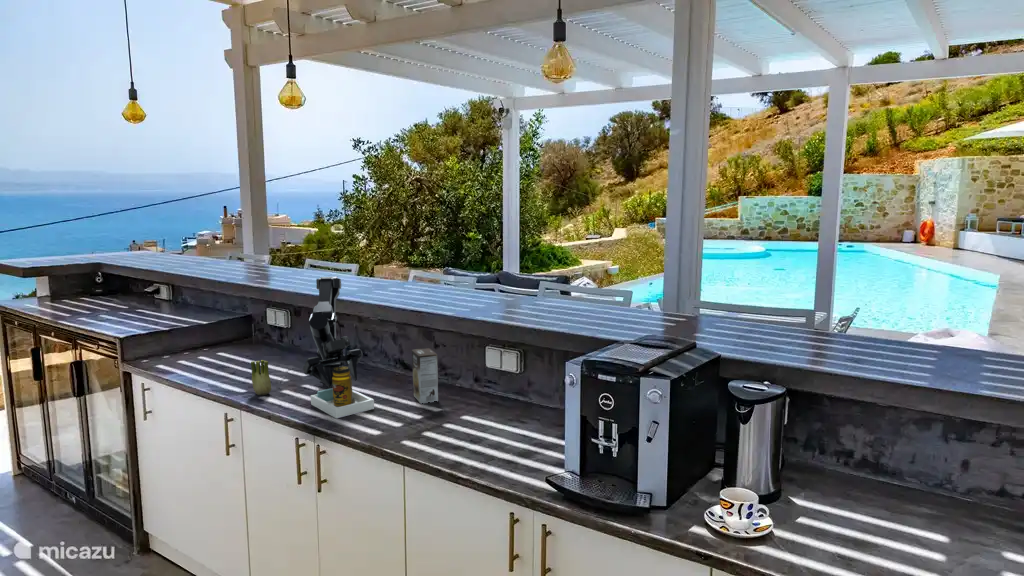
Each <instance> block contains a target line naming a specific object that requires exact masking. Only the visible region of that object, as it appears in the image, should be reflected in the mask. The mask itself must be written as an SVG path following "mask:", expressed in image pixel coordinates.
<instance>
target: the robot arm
mask: <svg viewBox="0 0 1024 576" xmlns="http://www.w3.org/2000/svg"><path fill="white" fill-rule="evenodd" d="M315 281H316V284H315V285H316V290H318V300H317V304H316V305H315V306H314V307H313V311H312V313H311V314H310V317H309V320H308V323H309V327H310V328H309V329H310V330H311V335H312V338H313V341H314V343H315V345H316V348H317V352H316V356H311V357H308V358H307V359H306V360H305V362H304V365H303V367H302V370H303V372H304V374H305V375H309V376H310V377H314V378H315V379H318V380H319V382H320V381H321V383H322V382H323V383H322V384H324V385H325V386H327V387H328V388H331V385H332V377H333V369H334V368H336V367H341V366H344V365H347V367H349V369H350V375H351V378H352V379H353V381H355V382H357V380H358V370H357V366H358V364H359V363H360V361H361V360H362V358H363V356H364V354H363V351H362V349H359V348H355V349H352V350H348V351H347V353H346V355H345V353H344V349H345V350H346V349H347V347H349V346H350V345H351V341H350V338H349V337H348V336H347V335H346V336H342V337H340V338H339V339H337V336H336V335H337V334H336V333H337V332H336V329H337V328H336V327H337V326H336V324H337V323H336V322H337V320H338V316H337V315H336V301H337V299H338V298H339V296H340V294H341V293H340V292H341V291H340V289H341V290H342V280H341V278H339V277H338V276H321V277H319V278H316V280H315Z"/></svg>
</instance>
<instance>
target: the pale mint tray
mask: <svg viewBox="0 0 1024 576" xmlns="http://www.w3.org/2000/svg"><path fill="white" fill-rule="evenodd" d="M352 395H353V397H354V400H355V403H353V404H349V405H345V406H341V407H336V406H334V405H332V402H331V401H324V400H322V399H320V398H318V395H317V393H316V394H311V395H310V404H311V406H313V407H315V408H317V409H318V410H320V411H322V412H324V413H326V415H329V416H331V417H333V418H335V419H339V418H343V417H346V416H347V417H348V416H350V415H355V414H359V413H363V412H367V411H371V410H374V409H375V400H374V398H372V397H370V396H367V395H365V394H363V393H360V392H358V391H357V390H354V389H352Z"/></svg>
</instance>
